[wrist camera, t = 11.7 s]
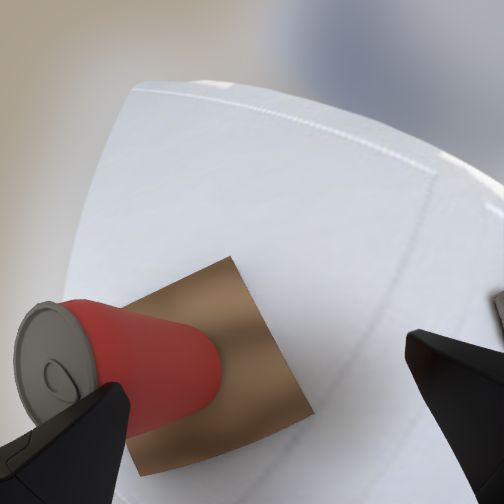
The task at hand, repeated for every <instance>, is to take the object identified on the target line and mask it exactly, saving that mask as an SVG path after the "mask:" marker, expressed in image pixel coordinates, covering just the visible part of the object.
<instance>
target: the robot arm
mask: <svg viewBox="0 0 504 504" xmlns="http://www.w3.org/2000/svg"><path fill="white" fill-rule="evenodd" d="M405 360H406V363H407V365H408V367H409V369H410V371H411V373H412V375H413V378H414V380H415V382H416V384H417V386H418V389H419V391H420V393H421V395H422V397H423V399H424V401H425V403H426V404H427V406H428V408H429V409H430V411H431V413H432V415H433V416H434V418H435V420H436V422H437V423H438V425H439V427H440V429H441V430H442V432H443V434H444V436H445V438H446V439H447V441H448V443H449V445H450V447H451V449H452V450H453V452H454V454H455V456H456V458H457V460H458V462H459V464H460V466H461V468H462V470H463V472H464V474H465V476H466V478H467V480H468V482H469V484H470V486H471V488H472V490H473V492H474V494H475V497H476V499H477V501H478V503H479V504H504V353H502V352H498V351H494V350H491V349H487V348H483V347H480V346H476V345H473V344H469V343H466V342H462V341H459V340H455V339H452V338H448V337H445V336H441V335H438V334H435V333H431V332H428V331H424V330H421V329H417V330H414V331H411V332H409V333H408V334H407V336H406V346H405ZM130 408H131V404H130V400H129V398H128V396H127V395H126V393H125V391H124V389H123V387H122V385H121V384H120V383H119V382H107V383H105V384H104V385H102V386H101V387H99V388H97V389H96V390H94V391H93V392H91V393H90V394H88V395H87V396H85V397H84V398H82V399H80V400H79V401H77V402H76V403H74V404H73V405H71V406H69V407H68V408H66V409H65V410H63V411H62V412H60V413H58V414H57V415H55V416H54V417H52V418H50V419H49V420H47V421H46V422H44V423H42V424H41V425H39V426H37V427H36V428H34V429H33V430H31V431H29V432H27V433H26V434H24V435H23V436H21V437H19V438H17V439H16V440H14V441H12V442H10V443H8V444H6V445H4V446H2V447H0V504H112V499H113V494H114V489H115V485H116V480H117V476H118V472H119V467H120V463H121V459H122V455H123V451H124V446H125V441H126V435H127V428H128V421H129V415H130Z"/></svg>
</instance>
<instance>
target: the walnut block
mask: <svg viewBox="0 0 504 504" xmlns="http://www.w3.org/2000/svg"><path fill="white" fill-rule="evenodd" d="M121 309H124V310H128V311H132V312H136V313H139V314H143V315H147V316H151V317H155V318H160V319H164V320H168V321H172V322H177V323H181V324H186V325H190V326H192V327H194V328H196V329H197V330H199V331H201V332H203V333H204V334H205V335H206V336H207V338H208V339H209V340H210V341H211V342H212V343H213V345H214V347H215V349H216V351H217V353H218V355H219V357H220V362H221V368H222V376H221V384H220V388H219V390H218V392H217V394H216V396H215V398H214V399H213V400H212V401H211V402H210V403H209V404H208V405H207V406H206V407H205V408H204V409H202V410H199V411H197V412H195V413H193V414H190V415H188V416H186V417H183V418H181V419H179V420H176V421H174V422H171V423H169V424H166V425H164V426H161V427H159V428H156V429H154V430H151V431H148V432H146V433H143V434H140V435H137V436H134V437H132V438H129V439H126V441H125V442H126V445H127V447H128V450H129V452H130V454H131V457H132V459H133V461H134V464H135V466H136V468H137V470H138V472H139V475H140V477H141V476H146V475H151V474H155V473H159V472H164V471H168V470H172V469H175V468H179V467H183V466H186V465H190V464H193V463H196V462H200V461H203V460H206V459H209V458H212V457H215V456H218V455H221V454H224V453H226V452H229V451H232V450H235V449H237V448H240V447H242V446H245V445H247V444H250V443H252V442H255V441H257V440H260V439H262V438H264V437H267V436H269V435H271V434H273V433H276V432H278V431H280V430H282V429H284V428H286V427H288V426H291V425H293V424H295V423H297V422H299V421H301V420H303V419H305V418H307V417H308V416H310V415H312V414H314V412H313V410H312V408H311V406H310V405H309V403H308V401H307V399H306V397H305V396H304V394H303V392H302V390H301V388H300V386H299V385H298V383H297V381H296V379H295V377H294V375H293V374H292V372H291V370H290V368H289V366H288V364H287V363H286V361H285V359H284V357H283V355H282V353H281V351H280V350H279V348H278V346H277V344H276V342H275V340H274V338H273V337H272V335H271V333H270V331H269V329H268V327H267V325H266V323H265V321H264V320H263V318H262V316H261V314H260V312H259V310H258V308H257V306H256V304H255V303H254V301H253V299H252V297H251V295H250V293H249V291H248V289H247V287H246V285H245V283H244V281H243V279H242V278H241V276H240V274H239V272H238V270H237V268H236V266H235V264H234V262H233V260H232V258H231V256H229V257H227V258H225V259H223V260H220V261H218V262H216V263H214V264H212V265H210V266H208V267H206V268H204V269H202V270H199V271H197V272H195V273H193V274H191V275H189V276H187V277H185V278H183V279H181V280H179V281H177V282H174V283H172V284H170V285H168V286H166V287H164V288H162V289H160V290H158V291H156V292H154V293H152V294H150V295H147V296H145V297H143V298H141V299H139V300H137V301H135V302H133V303H131V304H129V305H127V306H125V307H123V308H121Z"/></svg>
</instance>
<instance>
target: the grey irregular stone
mask: <svg viewBox="0 0 504 504" xmlns="http://www.w3.org/2000/svg"><path fill="white" fill-rule="evenodd" d="M494 303H495V304H496V308H497V310H498V313H499V316H500V318H501V320H502V324H503V328H504V291H502V292H501V293H499V294H498V295H497V297H496V298H495V300H494Z"/></svg>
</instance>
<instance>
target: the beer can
mask: <svg viewBox="0 0 504 504" xmlns="http://www.w3.org/2000/svg"><path fill="white" fill-rule="evenodd" d="M13 365H14V375H15V382H16V386H17V390H18V393H19V397H20V399H21V401H22V404H23V406H24V408H25V410H26V412H27V414H28V416H29V417H30V418H31V420H32V421H33V422H34V424H35V425H36V426H39V425H41V424H42V423H44V422H46V421H47V420H49V419H50V418H52V417H54V416H55V415H57V414H58V413H60V412H62V411H63V410H65V409H66V408H68V407H69V406H71V405H73V404H74V403H76V402H77V401H79V400H80V399H82V398H84V397H85V396H87V395H88V394H90V393H91V392H93V391H94V390H96V389H97V388H99V387H101V386H102V385H104V384H105V383H107V382H119V383H120V384H121V385H122V387H123V389H124V391H125V393H126V395H127V396H128V398H129V400H130V404H131V408H130V415H129V421H128V428H127V435H126V439H129V438H132V437H134V436H137V435H140V434H143V433H146V432H148V431H151V430H154V429H156V428H159V427H161V426H164V425H166V424H169V423H171V422H174V421H176V420H179V419H181V418H183V417H186V416H188V415H190V414H193V413H195V412H197V411H199V410H202V409H204V408H205V407H206V406H207V405H208V404H209V403H210V402H211V401H212V400H213V399H214V398H215V396H216V394H217V392H218V390H219V388H220V384H221V376H222V368H221V362H220V357H219V355H218V353H217V351H216V349H215V347H214V345H213V343H212V342H211V341H210V340H209V339H208V338H207V336H206V335H205V334H204V333H203V332H201V331H199V330H197V329H196V328H194V327H192V326H190V325H186V324H181V323H177V322H172V321H168V320H164V319H160V318H155V317H151V316H147V315H143V314H139V313H136V312H132V311H128V310H124V309H121V308H117V307H113V306H110V305H106V304H103V303H99V302H95V301H90V300H86V299H79V300H70V301H66V302H62V303H54V302H51V301H46V302H42V303H39V304H37V305H36V306H34V307H33V308H32V309H31V310H30V311H29V312H28V313H27V314H26V316H25V318H24V319H23V321H22V323H21V325H20V327H19V329H18V333H17V336H16V340H15V345H14V358H13Z"/></svg>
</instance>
